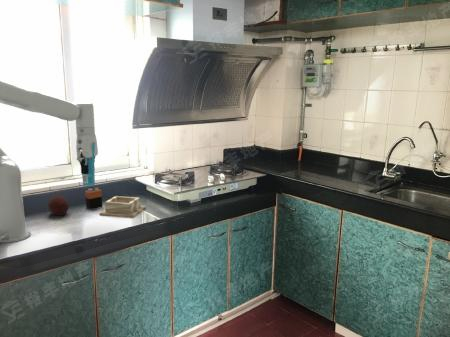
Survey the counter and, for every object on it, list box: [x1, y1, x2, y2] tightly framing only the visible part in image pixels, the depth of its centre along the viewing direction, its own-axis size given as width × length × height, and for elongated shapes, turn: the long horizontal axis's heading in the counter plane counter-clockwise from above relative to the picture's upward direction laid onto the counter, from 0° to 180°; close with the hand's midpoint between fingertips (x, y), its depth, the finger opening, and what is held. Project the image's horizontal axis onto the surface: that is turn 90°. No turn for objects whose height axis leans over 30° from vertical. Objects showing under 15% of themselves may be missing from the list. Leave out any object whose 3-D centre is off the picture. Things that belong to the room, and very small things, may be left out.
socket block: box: [98, 195, 146, 219], centre depth 186 cm, size 15×17×6 cm
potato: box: [47, 195, 69, 216], centre depth 181 cm, size 9×12×9 cm
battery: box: [84, 187, 103, 211], centre depth 192 cm, size 4×7×10 cm, turn 136°
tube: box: [81, 142, 96, 187], centre depth 168 cm, size 7×5×19 cm, turn 96°
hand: (88, 172), depth 169 cm, fingers closed on tube, 4 cm apart
